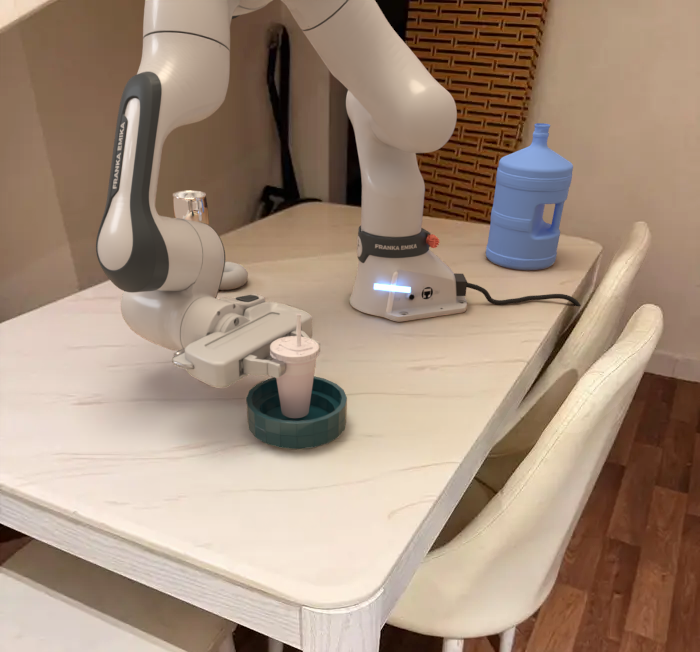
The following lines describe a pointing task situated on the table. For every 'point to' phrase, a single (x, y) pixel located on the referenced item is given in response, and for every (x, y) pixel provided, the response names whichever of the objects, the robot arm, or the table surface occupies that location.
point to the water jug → (528, 205)
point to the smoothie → (295, 371)
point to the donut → (233, 276)
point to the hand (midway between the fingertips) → (300, 359)
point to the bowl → (297, 432)
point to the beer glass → (191, 206)
